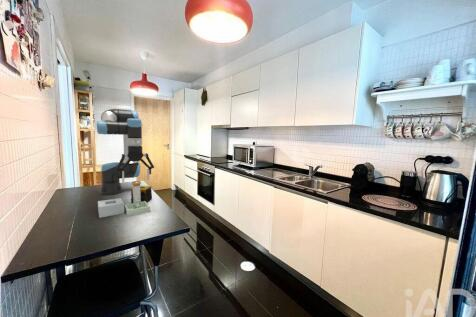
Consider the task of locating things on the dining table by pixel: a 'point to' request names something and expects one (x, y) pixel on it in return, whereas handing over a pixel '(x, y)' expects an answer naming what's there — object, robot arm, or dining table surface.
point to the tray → (131, 211)
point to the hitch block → (110, 207)
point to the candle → (144, 194)
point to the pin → (136, 194)
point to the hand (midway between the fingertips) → (136, 181)
